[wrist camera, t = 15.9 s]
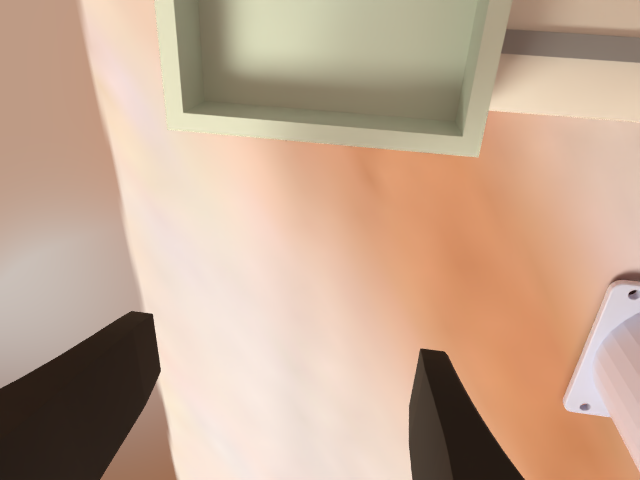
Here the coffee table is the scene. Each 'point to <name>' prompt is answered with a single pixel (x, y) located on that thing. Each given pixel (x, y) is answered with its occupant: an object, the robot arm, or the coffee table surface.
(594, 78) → the rail board
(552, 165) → the coffee table surface
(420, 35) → the mint green storage bin
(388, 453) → the coffee table surface
